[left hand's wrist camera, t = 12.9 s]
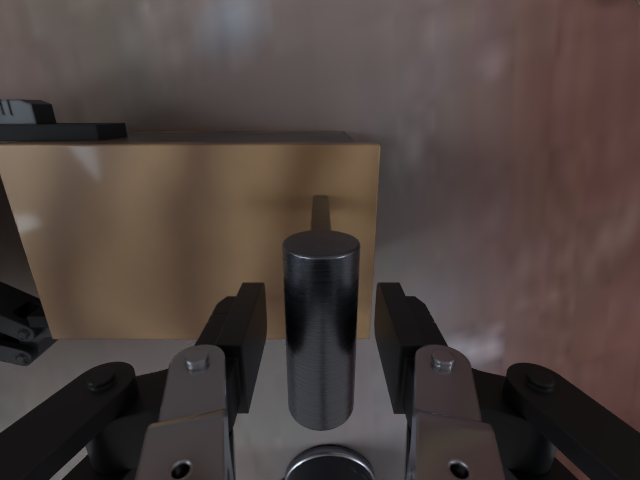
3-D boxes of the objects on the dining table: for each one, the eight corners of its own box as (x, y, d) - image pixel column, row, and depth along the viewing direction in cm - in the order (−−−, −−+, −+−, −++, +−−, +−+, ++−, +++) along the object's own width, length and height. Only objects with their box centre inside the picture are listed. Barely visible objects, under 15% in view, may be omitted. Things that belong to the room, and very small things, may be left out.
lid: (376, 142, 16) (435, 173, 8) (366, 325, 20) (400, 478, 11) (13, 142, 16) (-302, 173, 8) (68, 325, 20) (-112, 479, 11)
